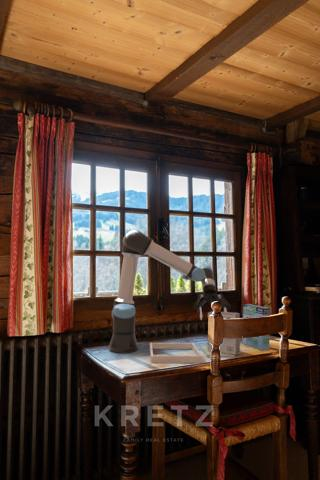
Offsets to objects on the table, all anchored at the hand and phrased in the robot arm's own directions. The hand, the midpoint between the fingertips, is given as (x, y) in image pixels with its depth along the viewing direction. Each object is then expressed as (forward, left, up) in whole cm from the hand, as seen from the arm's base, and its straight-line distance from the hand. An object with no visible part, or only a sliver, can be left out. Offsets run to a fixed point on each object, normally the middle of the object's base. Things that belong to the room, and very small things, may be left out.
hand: (214, 318), depth 193 cm
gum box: (+26, +11, -17) cm, 33 cm away
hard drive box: (+4, -5, -16) cm, 17 cm away
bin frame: (-22, -8, -17) cm, 29 cm away
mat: (+1, -2, -17) cm, 17 cm away
